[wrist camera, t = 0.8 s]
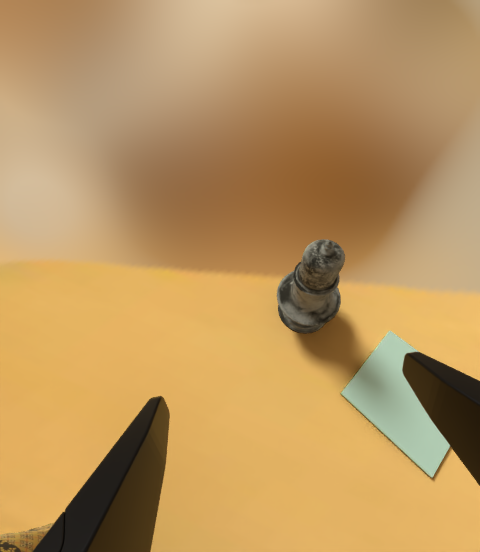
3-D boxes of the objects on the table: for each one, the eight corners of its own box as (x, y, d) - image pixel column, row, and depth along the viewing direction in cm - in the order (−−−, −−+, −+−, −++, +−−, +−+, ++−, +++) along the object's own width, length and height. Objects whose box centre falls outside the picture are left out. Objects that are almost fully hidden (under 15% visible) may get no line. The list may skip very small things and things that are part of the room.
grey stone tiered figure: (343, 319, 25) (401, 255, 14) (294, 346, 24) (319, 299, 13) (309, 276, 28) (338, 195, 17) (265, 299, 27) (266, 228, 16)
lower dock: (475, 396, 21) (478, 395, 20) (429, 476, 18) (432, 477, 18) (388, 331, 24) (389, 330, 24) (340, 393, 22) (341, 393, 21)
